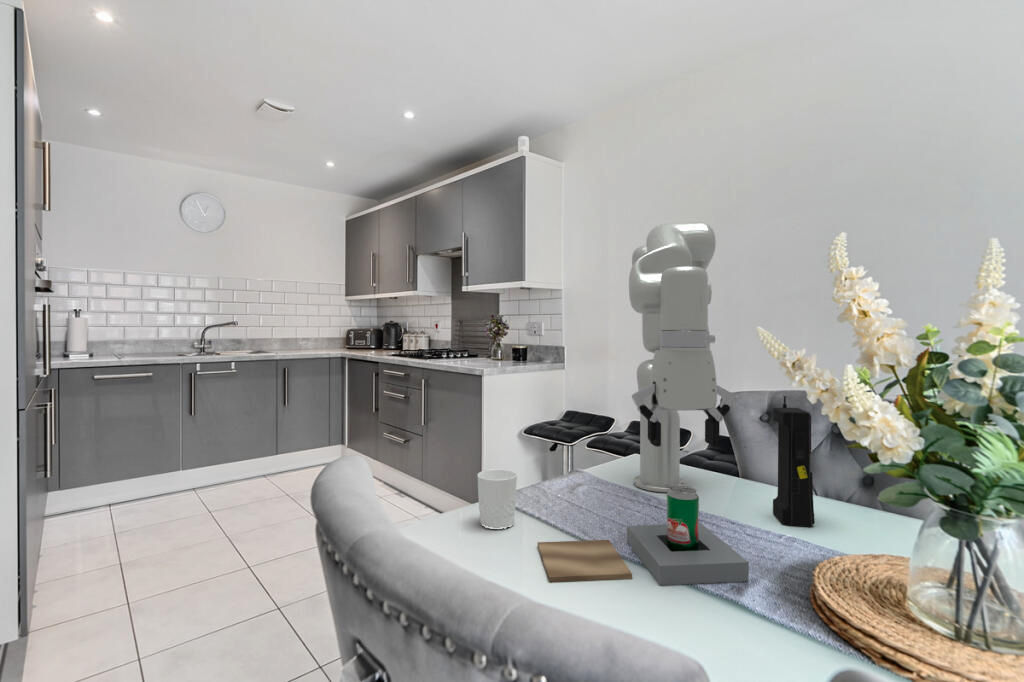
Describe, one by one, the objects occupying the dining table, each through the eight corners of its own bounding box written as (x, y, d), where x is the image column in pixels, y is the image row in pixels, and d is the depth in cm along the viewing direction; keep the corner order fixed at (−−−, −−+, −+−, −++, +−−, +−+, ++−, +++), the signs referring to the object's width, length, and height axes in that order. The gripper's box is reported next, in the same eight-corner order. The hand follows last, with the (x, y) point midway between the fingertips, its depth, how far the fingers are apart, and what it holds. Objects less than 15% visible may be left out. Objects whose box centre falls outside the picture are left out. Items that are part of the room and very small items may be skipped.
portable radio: (818, 530, 99) (819, 401, 98) (784, 527, 100) (785, 400, 99) (803, 515, 106) (804, 396, 106) (772, 513, 107) (773, 395, 107)
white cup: (469, 523, 102) (469, 473, 102) (500, 514, 107) (500, 467, 107) (493, 535, 96) (493, 482, 96) (525, 525, 101) (525, 475, 101)
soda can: (660, 559, 86) (661, 488, 85) (677, 551, 89) (677, 482, 89) (688, 570, 82) (688, 496, 82) (704, 560, 85) (704, 489, 85)
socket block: (626, 542, 93) (626, 525, 93) (700, 539, 94) (700, 523, 94) (660, 585, 77) (660, 565, 77) (748, 581, 78) (748, 562, 78)
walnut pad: (537, 546, 91) (537, 542, 91) (608, 544, 92) (608, 539, 92) (549, 582, 78) (549, 577, 78) (632, 578, 79) (632, 573, 79)
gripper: (722, 342, 89) (721, 439, 89) (626, 341, 88) (625, 440, 88) (745, 342, 82) (745, 448, 82) (640, 341, 80) (640, 450, 80)
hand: (683, 444), depth 85 cm, fingers open, 9 cm apart
